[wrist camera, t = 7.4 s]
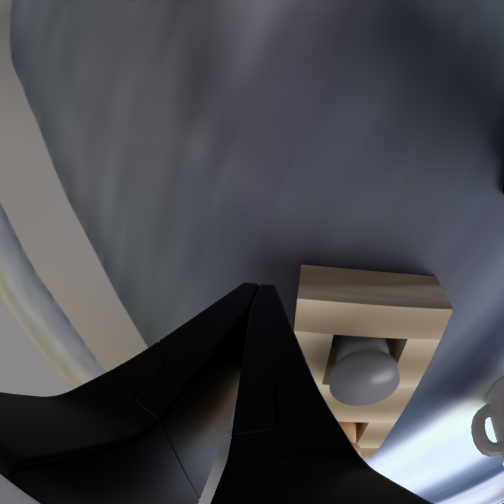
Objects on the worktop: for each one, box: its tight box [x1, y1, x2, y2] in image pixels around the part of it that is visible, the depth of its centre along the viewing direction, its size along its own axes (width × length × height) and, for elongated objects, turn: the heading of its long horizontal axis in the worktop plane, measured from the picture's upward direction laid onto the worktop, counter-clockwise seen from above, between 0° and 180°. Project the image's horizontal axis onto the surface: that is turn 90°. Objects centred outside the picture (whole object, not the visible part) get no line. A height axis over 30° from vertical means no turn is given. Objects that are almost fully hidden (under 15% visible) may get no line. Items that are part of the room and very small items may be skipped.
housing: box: [294, 264, 453, 458], centre depth 23 cm, size 20×10×4 cm, turn 179°
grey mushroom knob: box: [329, 335, 400, 406], centre depth 20 cm, size 5×5×6 cm
